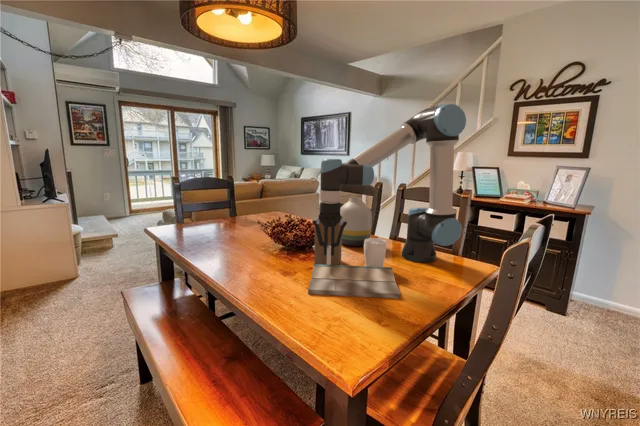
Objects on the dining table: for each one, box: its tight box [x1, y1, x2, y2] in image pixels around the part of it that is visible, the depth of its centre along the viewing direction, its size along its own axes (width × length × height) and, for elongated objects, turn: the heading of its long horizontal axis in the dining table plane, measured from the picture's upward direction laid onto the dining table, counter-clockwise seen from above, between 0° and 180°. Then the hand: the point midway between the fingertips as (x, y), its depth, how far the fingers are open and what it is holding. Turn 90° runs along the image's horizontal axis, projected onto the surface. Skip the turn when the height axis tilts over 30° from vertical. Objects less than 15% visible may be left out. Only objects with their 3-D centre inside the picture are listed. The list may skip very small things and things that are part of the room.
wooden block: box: [313, 216, 343, 265], centre depth 129 cm, size 10×10×20 cm
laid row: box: [307, 278, 401, 299], centre depth 105 cm, size 30×9×2 cm, turn 85°
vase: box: [340, 197, 373, 247], centre depth 158 cm, size 17×17×24 cm
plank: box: [310, 263, 396, 283], centre depth 114 cm, size 30×9×2 cm, turn 85°
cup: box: [363, 237, 387, 267], centre depth 124 cm, size 9×9×12 cm
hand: (328, 263), depth 116 cm, fingers closed
